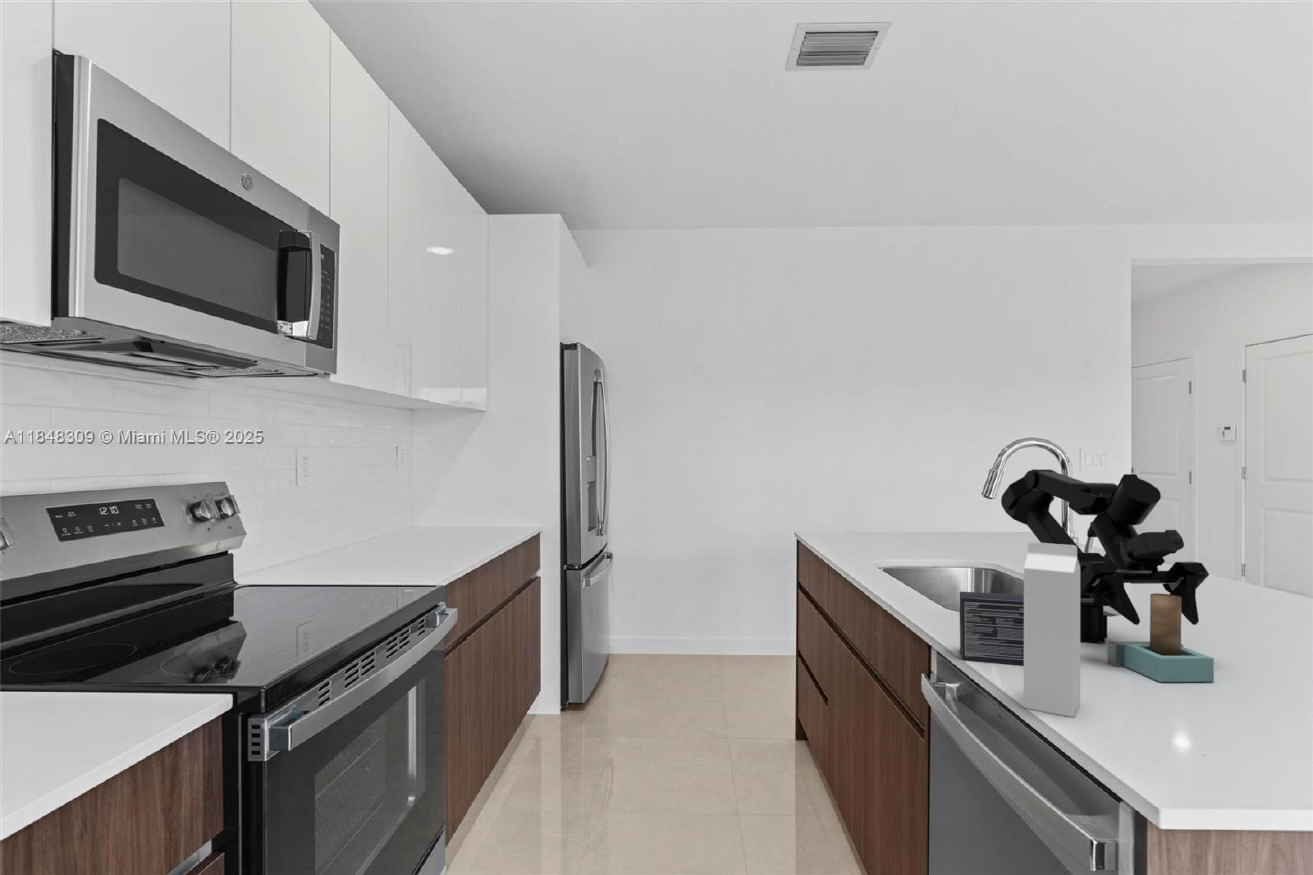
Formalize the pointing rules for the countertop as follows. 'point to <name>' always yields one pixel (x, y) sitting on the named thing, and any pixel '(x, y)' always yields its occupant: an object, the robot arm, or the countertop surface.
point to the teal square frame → (1169, 664)
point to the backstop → (1119, 652)
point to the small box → (992, 627)
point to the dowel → (1165, 624)
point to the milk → (1052, 629)
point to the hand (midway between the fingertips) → (1167, 623)
